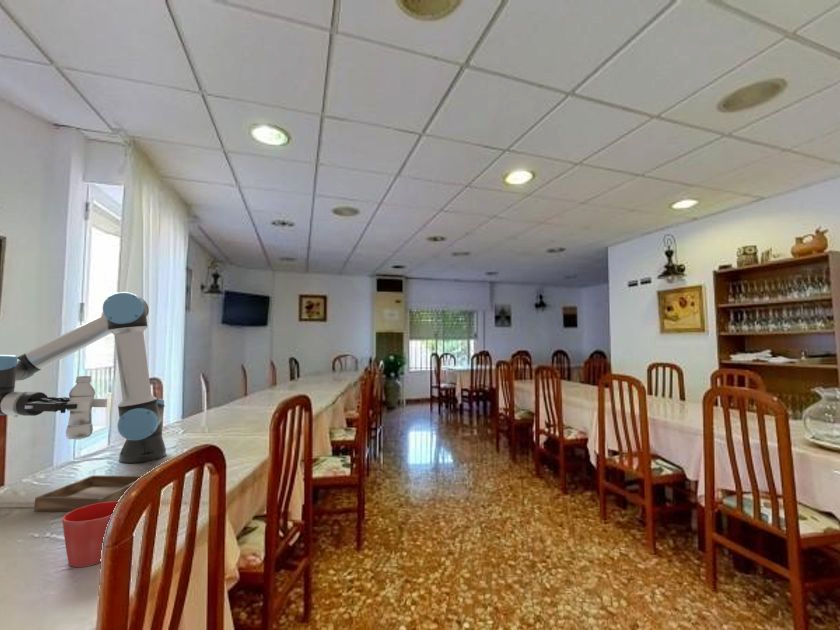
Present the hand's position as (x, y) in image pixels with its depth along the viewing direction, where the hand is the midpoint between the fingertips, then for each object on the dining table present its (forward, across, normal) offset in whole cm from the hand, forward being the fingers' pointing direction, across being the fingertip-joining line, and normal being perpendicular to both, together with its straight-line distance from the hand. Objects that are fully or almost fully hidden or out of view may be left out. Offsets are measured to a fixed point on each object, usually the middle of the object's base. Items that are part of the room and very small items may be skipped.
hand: (97, 404), depth 123 cm
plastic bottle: (-5, 0, -11) cm, 12 cm away
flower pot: (+35, +40, -26) cm, 59 cm away
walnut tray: (+10, +10, -26) cm, 29 cm away
